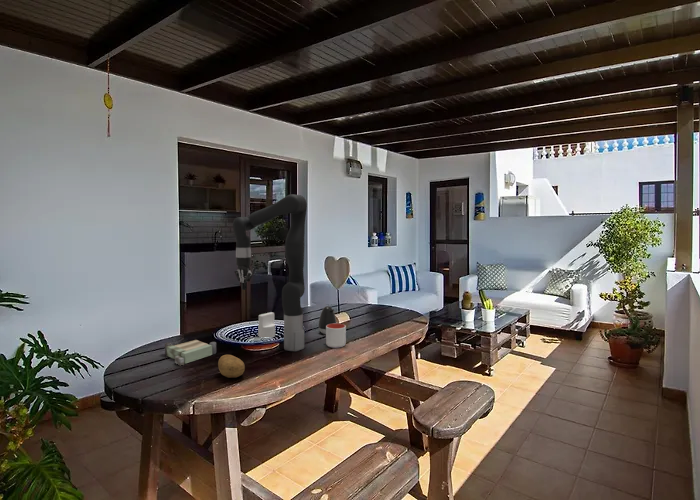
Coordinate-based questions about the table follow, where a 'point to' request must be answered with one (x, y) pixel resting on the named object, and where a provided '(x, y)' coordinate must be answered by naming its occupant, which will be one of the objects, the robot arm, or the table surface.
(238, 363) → the potato
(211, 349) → the leg
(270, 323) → the base with upright slab
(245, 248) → the robot arm
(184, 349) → the stool top
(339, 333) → the cup
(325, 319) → the dark grey rounded piece
